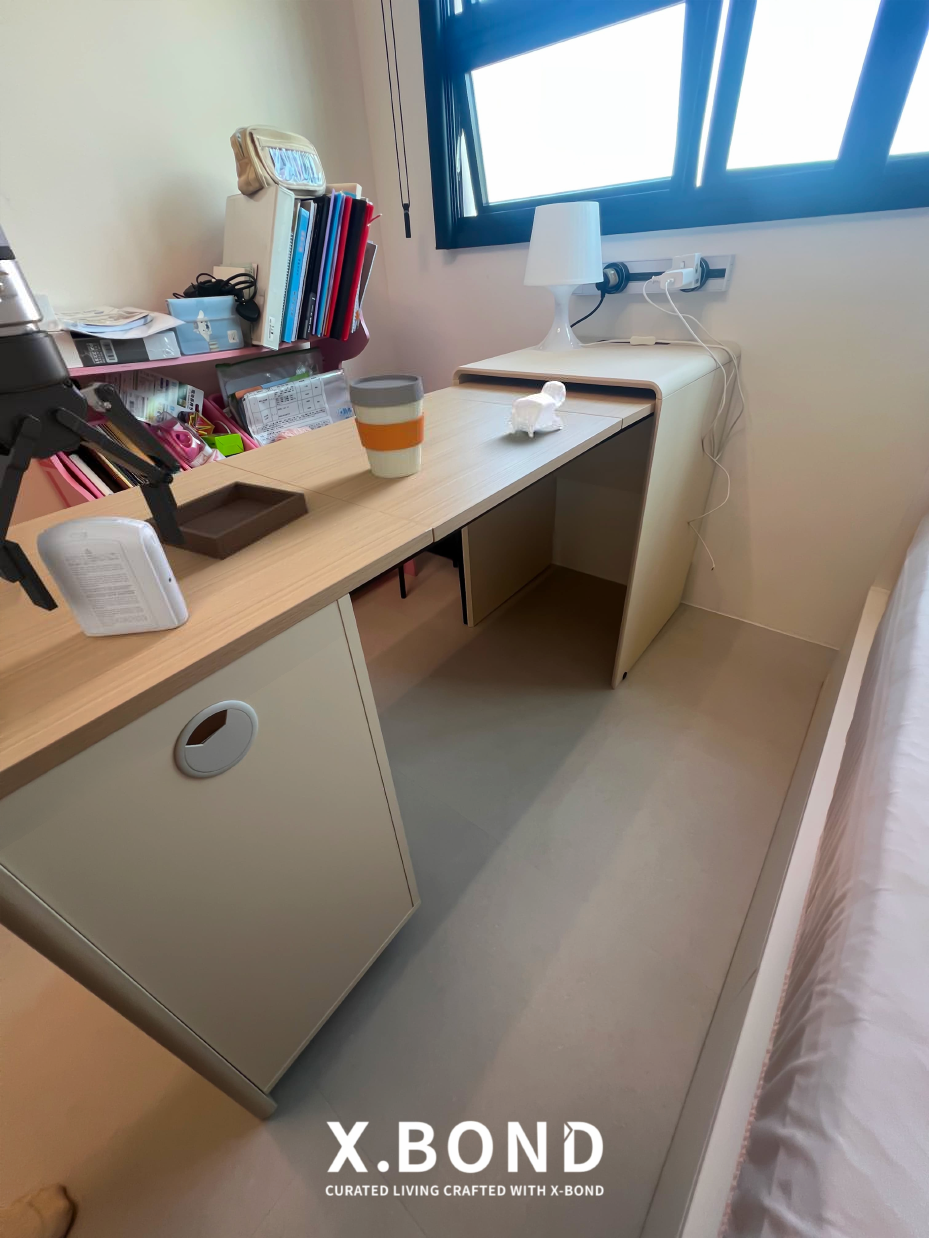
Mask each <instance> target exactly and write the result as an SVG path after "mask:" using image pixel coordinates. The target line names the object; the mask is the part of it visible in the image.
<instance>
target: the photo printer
mask: <svg viewBox="0 0 929 1238" xmlns="http://www.w3.org/2000/svg"><path fill="white" fill-rule="evenodd" d="M36 548H37V553H38V555H39V558H40V559H41V561H42V563H43V564H44V566H45V568H46V570H47V571H48V573H49V575H50V577H51V578H52V579H53V581H54V583H55V585H56V587H57V589H58V591H59V592H60V594H61V595H62V597H63V599H64V601H65V602H66V604H67V606H68V607H69V609H70V611H71V613H72V614H73V616H74V618H75V620H76V621H77V623H78V625H79V627H80V629H81V630H82V631H83V633H84V635H85V636H86V637H105V636H107V637H108V636H116V635H128V634H138V633H148V632H158V631H165V630H172V629H176V628H179V627H181V626H183V625H184V624H185V623H186V622H187V621H188V619H189V612H188V608H187V605H186V601H185V599H184V597H183V594H182V592H181V590H180V587H179V584H178V582H177V579H176V577H175V575H174V573H173V570H172V568H171V565H170V563H169V560H168V558H167V556H166V553H165V550H164V549H163V546H162V543H160V542H159V539H158V537H157V535H156V532H155V531H154V529H153V528H152V526H151V525H150V524H149V523H147V522H144V520H139V519H135V518H128V517H121V516H86V517H85V516H84V517H79V518H74V519H70V520H66V521H63V522H59V523H57V524H54V525H52V526H50V527H47V528H46V529H44V530H43V531H42V532H40V533H38V534H37V536H36Z"/></svg>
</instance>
